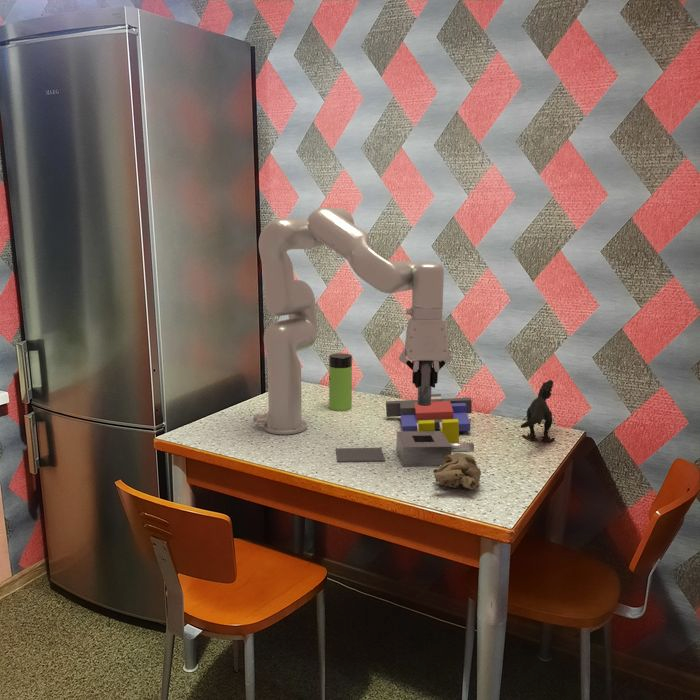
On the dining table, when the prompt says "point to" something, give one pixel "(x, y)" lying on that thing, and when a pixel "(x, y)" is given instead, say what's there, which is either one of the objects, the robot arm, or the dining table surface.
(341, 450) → the mat
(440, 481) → the tan lumpy mass
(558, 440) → the dining table surface
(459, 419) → the toy
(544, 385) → the toy
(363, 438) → the dining table surface
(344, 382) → the tumbler
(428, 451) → the block
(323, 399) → the dining table surface
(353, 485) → the dining table surface
